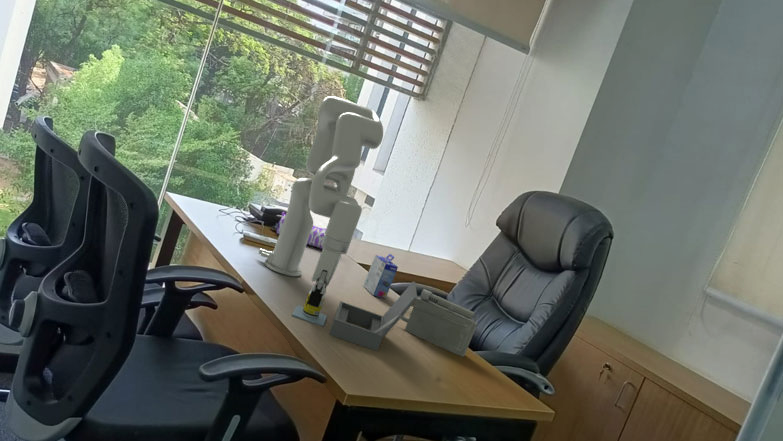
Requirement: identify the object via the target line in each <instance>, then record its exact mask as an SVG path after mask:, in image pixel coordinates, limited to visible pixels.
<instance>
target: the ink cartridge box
mask: <svg viewBox="0 0 783 441" xmlns="http://www.w3.org/2000/svg"><path fill="white" fill-rule="evenodd" d="M394 258H395V256H394V255H392V254H391V253H389V254H388V255H387V256H386V257H384V256H381V255H374V257H373V260H372V262H371V264H370V268H368V272H367V275H366V277H365V280H364V283H363V285H362V286H363V287H364V289H366V290H367V291H368V292H369V293H370V294H371V295H372V296H374V297H377V298H382V299H384V298H385V299H386V298H387V296H388V293H389V292H390V288H391V285H392V283H393V281H394V278H395V276H396V273H397V270H398V266H397V265H396V264H395V263H393V260H394ZM385 299H384V300H385Z"/></svg>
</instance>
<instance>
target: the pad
mask: <svg viewBox="0 0 783 441" xmlns="http://www.w3.org/2000/svg"><path fill="white" fill-rule="evenodd" d="M303 308H304V306H301V305H299V304H297V305H296V307H295V309H294V311H293V313H292V314H291V316H292V317H295V318H298V319H300V320H304V321H306V322H309V323H312V324H314V325H317V326H320V327H324V326H325V324H326V323H325V322H326V320H327V315H326V314H324V313H321V312H320V313H319V316H318V317H317V318H311V317H308V316H306V315H304V314H303V312H302V311H303Z"/></svg>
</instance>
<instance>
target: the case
mask: <svg viewBox="0 0 783 441" xmlns="http://www.w3.org/2000/svg"><path fill="white" fill-rule="evenodd" d="M416 284H417V283H416V281H412V282H411V283H410V285H408V286H407V288H406V289H405V290H404V291H403V292H402V293H401V294H400V296H399V297H398V298H397V299H396V301H394V303H393V304H392V305H391V306H390V307H389V308H388V310H387V311H386V312H385V313H384V315H381V314H377V313H376V312H373V311H370V310H366V309H365V308H362V307H358V306H356V305H352V304H350V303H347V302H345V301H341V300H340V301H339V304H338V305H337V306H338V307H337V309H336V312H335V315H334V318H333V321H332V323H331V327H330V330H329V335H331V336H333V337H336V338H339V339H342V340H345V341H347V342H349V343H353V344H356V345H358V346H360V347H363V348H366V349H369V350H373V351H376V352H378V350H379V347H380V346H381V342H382V340H383V337H386V335H388V333H389V332H390V331H391V330H392V329H393V328H394V327H395V325H396V324H397V323H398V321H400V320H402V319H403V317H405V314H406V313H407V312H408V311H409V309H410V308H411V307H412V305H413V306H414V304H415V302H416V300H417V297H418V293H417V285H416ZM348 321H349V322H348ZM350 322H351V323H350ZM355 324H356V325H355ZM359 325H360V326H359ZM362 326H363V327H362ZM364 327H366V328H364ZM367 328H368V329H367Z"/></svg>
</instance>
